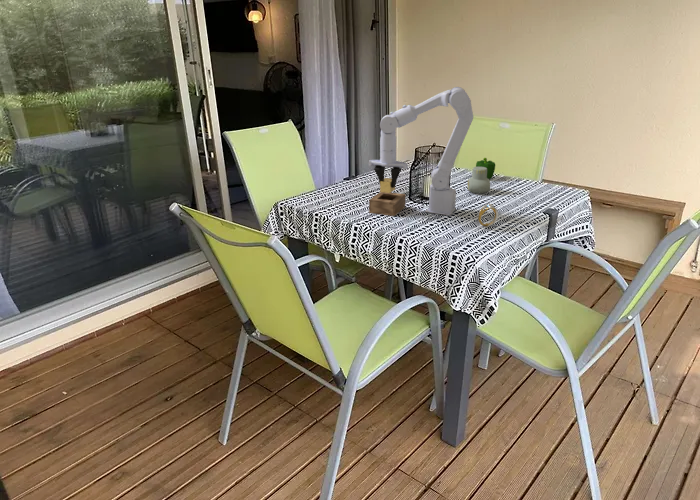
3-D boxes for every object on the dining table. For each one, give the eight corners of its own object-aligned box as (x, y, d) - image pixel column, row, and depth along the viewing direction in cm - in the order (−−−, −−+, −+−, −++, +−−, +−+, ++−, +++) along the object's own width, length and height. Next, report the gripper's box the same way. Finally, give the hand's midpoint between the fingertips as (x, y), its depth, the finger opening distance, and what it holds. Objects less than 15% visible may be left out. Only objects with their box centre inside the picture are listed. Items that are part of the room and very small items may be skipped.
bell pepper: (482, 175, 236) (484, 154, 232) (497, 178, 230) (499, 156, 226) (470, 178, 231) (472, 156, 227) (485, 182, 225) (487, 159, 221)
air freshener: (490, 195, 207) (492, 171, 203) (469, 195, 208) (471, 171, 204) (486, 188, 217) (488, 165, 213) (466, 188, 218) (468, 164, 214)
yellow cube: (395, 189, 191) (395, 179, 190) (390, 192, 187) (390, 182, 186) (385, 188, 193) (385, 177, 191) (380, 191, 189) (380, 181, 187)
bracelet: (494, 224, 176) (496, 202, 173) (498, 227, 173) (500, 204, 170) (475, 225, 175) (477, 203, 172) (479, 229, 172) (481, 206, 169)
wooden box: (405, 206, 196) (405, 194, 194) (394, 216, 186) (394, 202, 184) (381, 203, 200) (381, 191, 198) (369, 212, 190) (369, 199, 188)
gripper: (365, 150, 184) (365, 187, 189) (403, 153, 178) (402, 191, 183) (372, 146, 190) (373, 182, 195) (410, 149, 184) (409, 186, 189)
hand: (387, 186), depth 190 cm, fingers closed on yellow cube, 4 cm apart
